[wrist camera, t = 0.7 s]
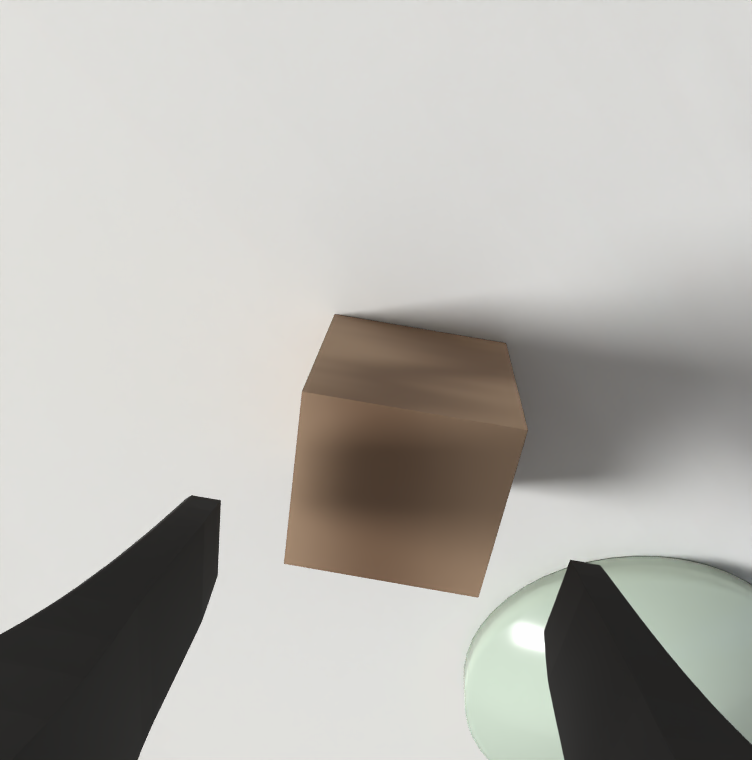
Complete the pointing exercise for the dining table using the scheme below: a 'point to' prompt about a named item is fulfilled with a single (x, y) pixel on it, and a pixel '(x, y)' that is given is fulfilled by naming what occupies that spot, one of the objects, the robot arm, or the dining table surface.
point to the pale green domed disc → (659, 613)
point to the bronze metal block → (404, 455)
